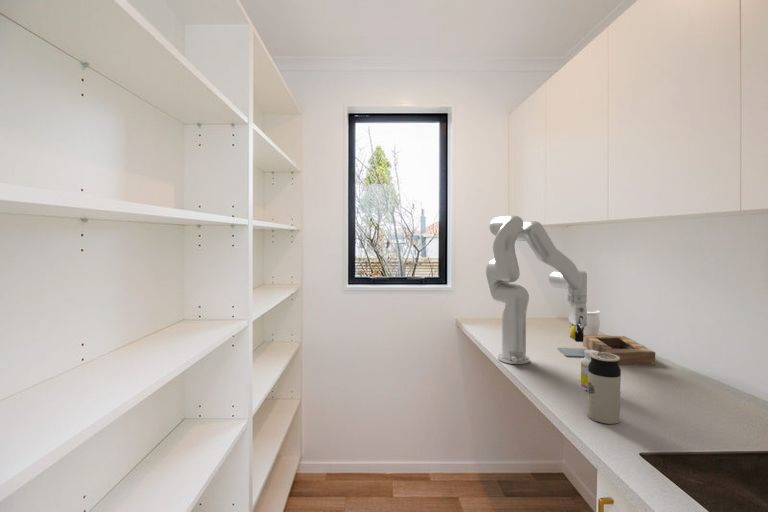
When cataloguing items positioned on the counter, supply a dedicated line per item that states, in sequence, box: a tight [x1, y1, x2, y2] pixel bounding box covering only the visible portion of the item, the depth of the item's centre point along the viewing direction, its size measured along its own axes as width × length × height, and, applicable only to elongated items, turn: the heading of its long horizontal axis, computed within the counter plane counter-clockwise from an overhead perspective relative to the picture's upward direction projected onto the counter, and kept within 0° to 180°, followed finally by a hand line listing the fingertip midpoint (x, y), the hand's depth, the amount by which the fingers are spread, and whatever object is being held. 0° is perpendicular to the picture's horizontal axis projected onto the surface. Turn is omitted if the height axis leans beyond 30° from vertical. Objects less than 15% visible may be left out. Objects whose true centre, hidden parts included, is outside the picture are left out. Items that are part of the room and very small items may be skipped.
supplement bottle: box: [580, 349, 599, 392], centre depth 132 cm, size 7×7×13 cm
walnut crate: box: [582, 334, 656, 366], centre depth 170 cm, size 26×18×5 cm
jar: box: [578, 308, 601, 335], centre depth 193 cm, size 11×10×15 cm
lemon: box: [569, 325, 584, 341], centre depth 172 cm, size 6×6×8 cm
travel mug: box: [586, 352, 622, 425], centre depth 110 cm, size 8×8×18 cm
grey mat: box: [557, 347, 588, 358], centre depth 172 cm, size 12×12×1 cm
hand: (576, 339), depth 172 cm, fingers closed on lemon, 5 cm apart
